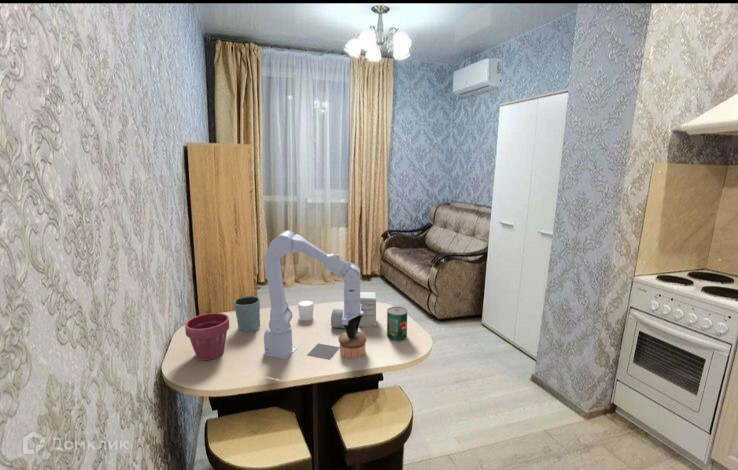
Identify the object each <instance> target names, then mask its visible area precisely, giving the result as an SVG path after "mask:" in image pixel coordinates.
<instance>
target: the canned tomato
mask: <svg viewBox="0 0 738 470" xmlns="http://www.w3.org/2000/svg"><path fill="white" fill-rule="evenodd" d="M408 313H409V311H408V309H407V308H405V307H402V306H391V307H388V308H387V310H386V338H387V339H389V341H392V342H403V341H406V340H407V337H408Z"/></svg>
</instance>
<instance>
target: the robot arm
mask: <svg viewBox="0 0 738 470" xmlns="http://www.w3.org/2000/svg"><path fill="white" fill-rule="evenodd" d="M291 250H292V252H291ZM289 252H291V253H292V254H293V253H294V254H296V253H304V254H306V255H307V256H310V257H311V258H313V259H315V260H317V261H319V262H321V263H322V265H323V268H324V269H325V270H327V271H329V272H330V273H332V274H334V275H336V276H338V277H339V278H342V281H343V284H344V286H343V310H344V312H343V318H342V319H341V322H342V325H344V327H345V328H344V329H345V332H346V333H347V336H348V338H354V335H355V329H356V334H357V332H359V327H360V326H359V323H360V320H361V318H362V316H363V314H364V312H363V311H361V309H362V304H360V292H361V286H360V285H361V281H360V280H361V269H360V267H359V266H358V265H357V264H356V263H352V262H350V261H346V260H344V259H343V258H342V257H340V256H341V255H340V254H338V253H336V254H335V253H329V254H328V253H326V252H325V251H323V250H322V249H320V248H319V247H317V246H316V245H314V244H313V243H311V242H310V241H308V239H305V238H304V237H302V236H301V235H300V234H298V233H295V232H293V231H292V230H284V231H282V232H281V233H279V235H277V236H276V237H275V238H273V239H272V241H270V243H269V246H268V248H267V250H266V252H265V254H264V260H263V261H264V266H265V267H264V268H265V273H266V279H267V285H268V293H269V299H270V313H269V321H268V327H267V328H266V329H265V331H264V335H263V345H264V346H263V347H264V352H263V356H264V355H265V356H268V357H274V358H279V359H284V360H287V359H288V358H289V357H290V356H291V355H292V354H294V353H295V351H296V350H298V347H297V346H293V328H292V325H291V320H292V318H293V312H292V311H291V309H290V306H289V303H288V302H287V301H286V294H285V293H286V292H285V287H284V286H285V285H284V284H285V283H284V278H283V277H284V276H283V273H282V272H283V270H282V265H281V264H282V263H281V259H282V257H283V256H285V255H287V254H289Z"/></svg>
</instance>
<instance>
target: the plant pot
mask: <svg viewBox="0 0 738 470" xmlns="http://www.w3.org/2000/svg"><path fill="white" fill-rule="evenodd" d="M184 325H185V326H184V328H185V335H186V337H187V338H189V340H190V343H191V346H192V348H193V351H194V353H195V357H196V358H197V359H198V360H202V361H208V360H214V359H217V358H219V357H221V356H222V355H223V354H224V353H223V352H225V347H226V341H227V333H228V331H229V329H230V318H229V315H227V314H225V313H220V312H211V313H210V312H209V313H204V314H200V315H199V314H198V315H196V316H194V317H191V318H190V319H188V320H187V321H186V322H185V323H184ZM220 355H221V356H220Z"/></svg>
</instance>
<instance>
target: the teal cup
mask: <svg viewBox="0 0 738 470" xmlns="http://www.w3.org/2000/svg"><path fill="white" fill-rule="evenodd" d="M260 301H261V299H260V297H258V296H254V295H249V296H248V295H247V296H243V297H242V296H241V297H239V298H237V299H234V301H233V305H234V310H235V316H236V320H237V321H236V322H237V328H238V331H239V332H242V333H252V332H255V331H258V330H259V329H260V327H261V313H260V312H261V309H260V308H261V302H260Z"/></svg>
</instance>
